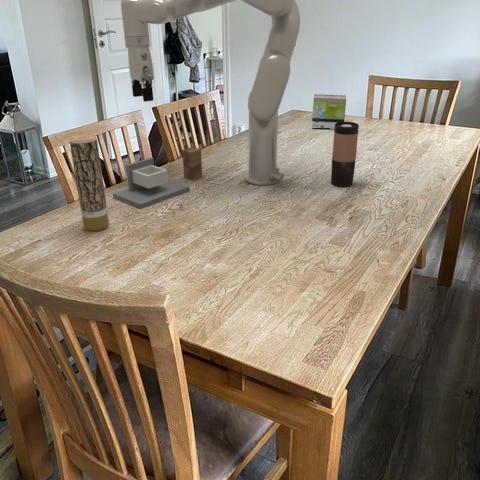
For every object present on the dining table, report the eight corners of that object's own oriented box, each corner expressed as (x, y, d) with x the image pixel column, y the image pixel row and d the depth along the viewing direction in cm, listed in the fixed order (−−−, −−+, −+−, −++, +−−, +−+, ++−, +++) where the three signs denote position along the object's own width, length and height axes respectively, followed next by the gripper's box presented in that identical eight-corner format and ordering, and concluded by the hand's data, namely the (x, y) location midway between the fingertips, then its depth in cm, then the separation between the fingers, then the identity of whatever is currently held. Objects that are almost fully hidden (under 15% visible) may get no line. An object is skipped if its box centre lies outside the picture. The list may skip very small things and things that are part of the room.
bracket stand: (189, 190, 161) (187, 161, 157) (140, 208, 148) (137, 177, 143) (161, 181, 170) (159, 153, 165) (113, 197, 156) (109, 167, 152)
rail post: (202, 177, 173) (200, 149, 169) (192, 180, 170) (191, 152, 166) (193, 174, 176) (191, 147, 172) (184, 177, 173) (182, 149, 169)
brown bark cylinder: (102, 232, 133) (89, 141, 122) (79, 231, 134) (63, 140, 123) (113, 222, 139) (101, 134, 128) (90, 220, 140) (77, 133, 129)
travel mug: (355, 181, 168) (361, 122, 159) (350, 189, 161) (356, 128, 152) (333, 178, 170) (338, 120, 162) (327, 185, 164) (331, 125, 155)
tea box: (311, 129, 233) (313, 97, 227) (312, 124, 242) (313, 93, 236) (343, 130, 231) (346, 98, 225) (343, 125, 240) (345, 94, 233)
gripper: (159, 43, 147) (164, 101, 155) (139, 39, 161) (144, 93, 169) (135, 44, 144) (141, 104, 152) (117, 41, 158) (123, 95, 165)
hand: (143, 98), depth 160 cm, fingers open, 9 cm apart
